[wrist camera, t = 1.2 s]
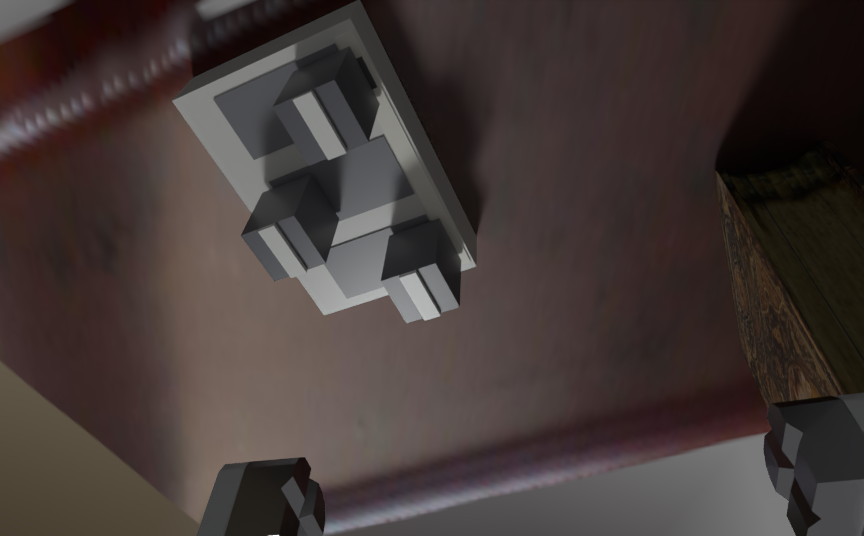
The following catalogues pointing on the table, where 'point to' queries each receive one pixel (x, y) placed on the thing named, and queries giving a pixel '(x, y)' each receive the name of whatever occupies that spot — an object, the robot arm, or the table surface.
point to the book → (798, 273)
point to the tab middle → (291, 228)
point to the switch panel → (339, 177)
